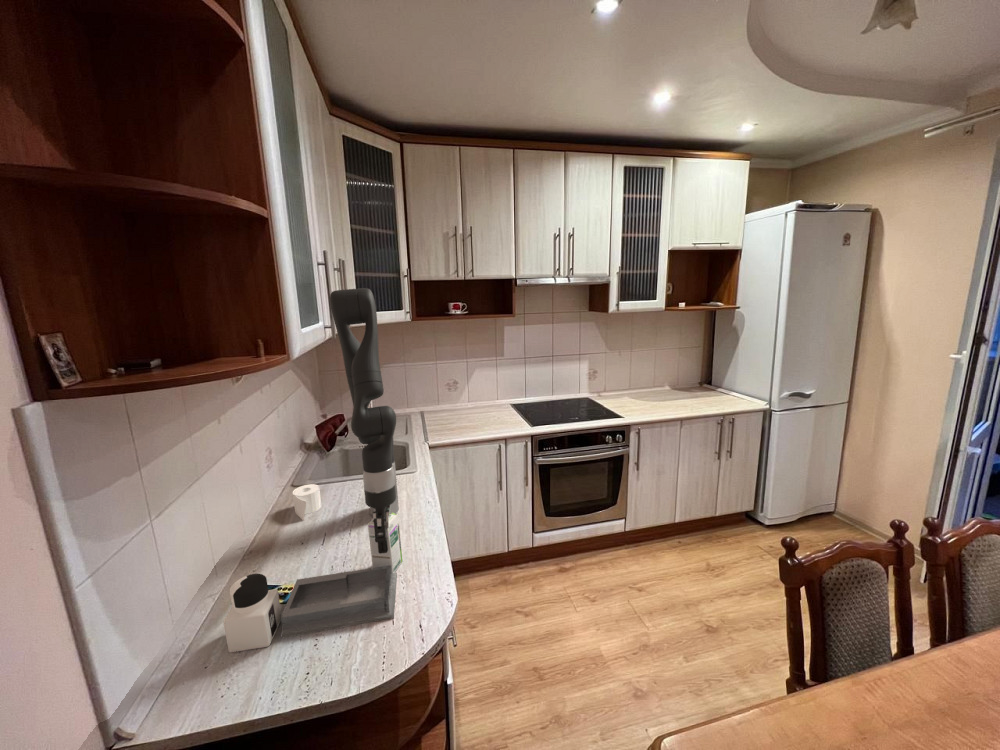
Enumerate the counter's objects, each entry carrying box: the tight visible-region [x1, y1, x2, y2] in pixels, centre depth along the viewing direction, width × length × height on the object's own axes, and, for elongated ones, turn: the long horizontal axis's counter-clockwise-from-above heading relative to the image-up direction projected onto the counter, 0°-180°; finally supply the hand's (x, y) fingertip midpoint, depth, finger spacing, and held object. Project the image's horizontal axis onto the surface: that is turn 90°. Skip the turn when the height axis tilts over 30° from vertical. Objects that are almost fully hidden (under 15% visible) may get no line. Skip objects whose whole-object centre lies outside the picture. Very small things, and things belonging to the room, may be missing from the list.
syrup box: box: [367, 512, 404, 573], centre depth 105 cm, size 6×6×14 cm
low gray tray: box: [280, 565, 398, 639], centre depth 93 cm, size 14×23×4 cm, turn 102°
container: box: [223, 573, 283, 653], centre depth 84 cm, size 8×8×13 cm
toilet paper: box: [292, 483, 322, 522], centre depth 136 cm, size 8×11×7 cm
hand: (384, 542), depth 104 cm, fingers open, 8 cm apart
